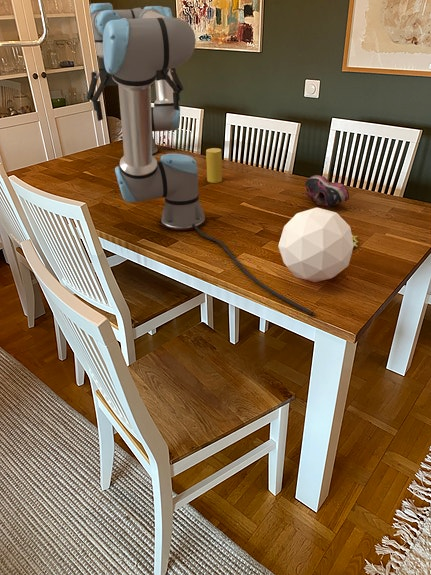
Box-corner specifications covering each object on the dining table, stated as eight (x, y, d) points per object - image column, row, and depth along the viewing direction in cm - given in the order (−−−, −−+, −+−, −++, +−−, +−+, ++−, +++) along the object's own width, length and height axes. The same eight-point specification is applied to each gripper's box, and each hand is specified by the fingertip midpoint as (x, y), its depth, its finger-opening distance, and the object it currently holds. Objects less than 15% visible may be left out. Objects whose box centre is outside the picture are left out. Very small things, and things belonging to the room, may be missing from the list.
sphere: (322, 305, 122) (338, 279, 104) (262, 266, 127) (267, 235, 108) (357, 254, 127) (378, 220, 109) (298, 218, 132) (308, 180, 113)
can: (213, 176, 196) (212, 147, 189) (224, 179, 193) (224, 149, 186) (204, 181, 192) (202, 150, 185) (216, 183, 189) (215, 153, 182)
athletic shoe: (314, 174, 176) (289, 181, 172) (350, 168, 156) (323, 177, 152) (319, 202, 179) (295, 210, 175) (356, 200, 159) (329, 209, 155)
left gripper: (133, 56, 161) (139, 117, 173) (189, 51, 174) (192, 109, 185) (123, 55, 167) (131, 114, 178) (179, 51, 179) (182, 106, 190)
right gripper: (145, 54, 153) (152, 119, 164) (80, 55, 158) (91, 117, 170) (137, 57, 147) (144, 123, 158) (70, 57, 152) (81, 121, 164)
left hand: (162, 112), depth 181 cm, fingers open, 13 cm apart
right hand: (117, 120), depth 164 cm, fingers open, 13 cm apart
